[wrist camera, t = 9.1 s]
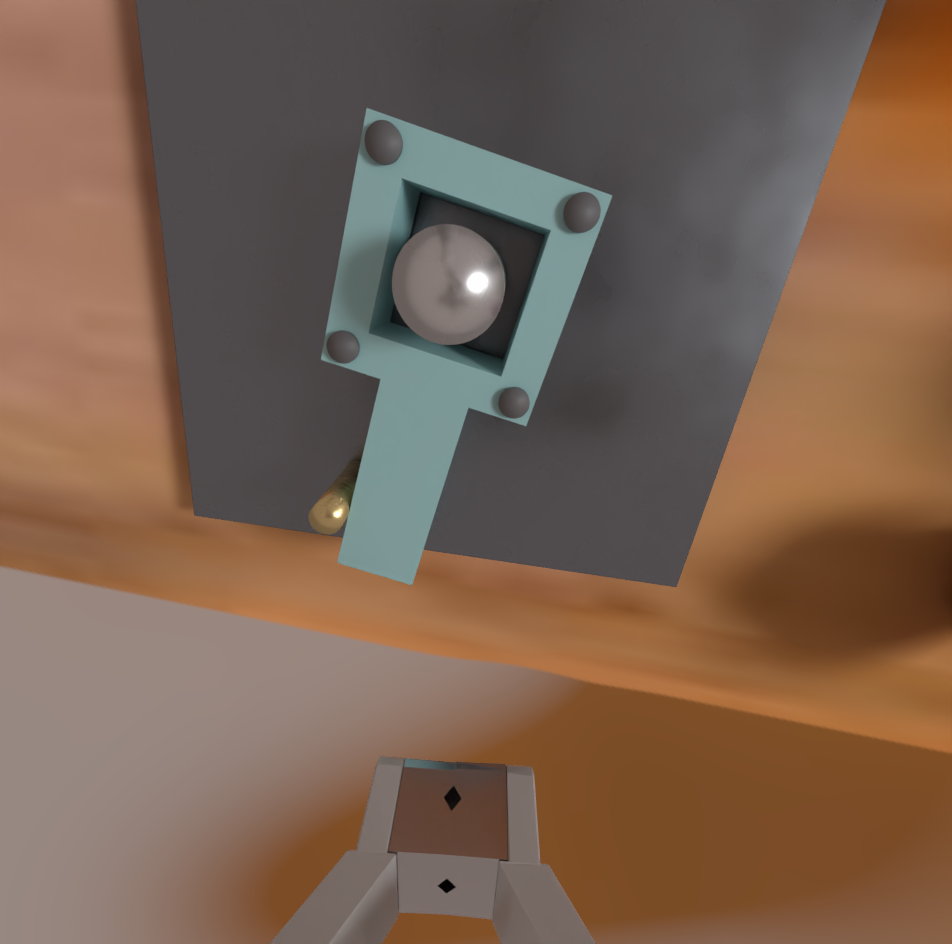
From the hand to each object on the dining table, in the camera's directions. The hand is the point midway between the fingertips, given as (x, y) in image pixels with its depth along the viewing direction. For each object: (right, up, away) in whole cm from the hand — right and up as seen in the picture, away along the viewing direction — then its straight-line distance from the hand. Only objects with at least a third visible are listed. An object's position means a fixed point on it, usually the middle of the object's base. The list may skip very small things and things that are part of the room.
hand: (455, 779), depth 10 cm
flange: (-1, +10, +9) cm, 13 cm away
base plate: (0, +13, +9) cm, 16 cm away
